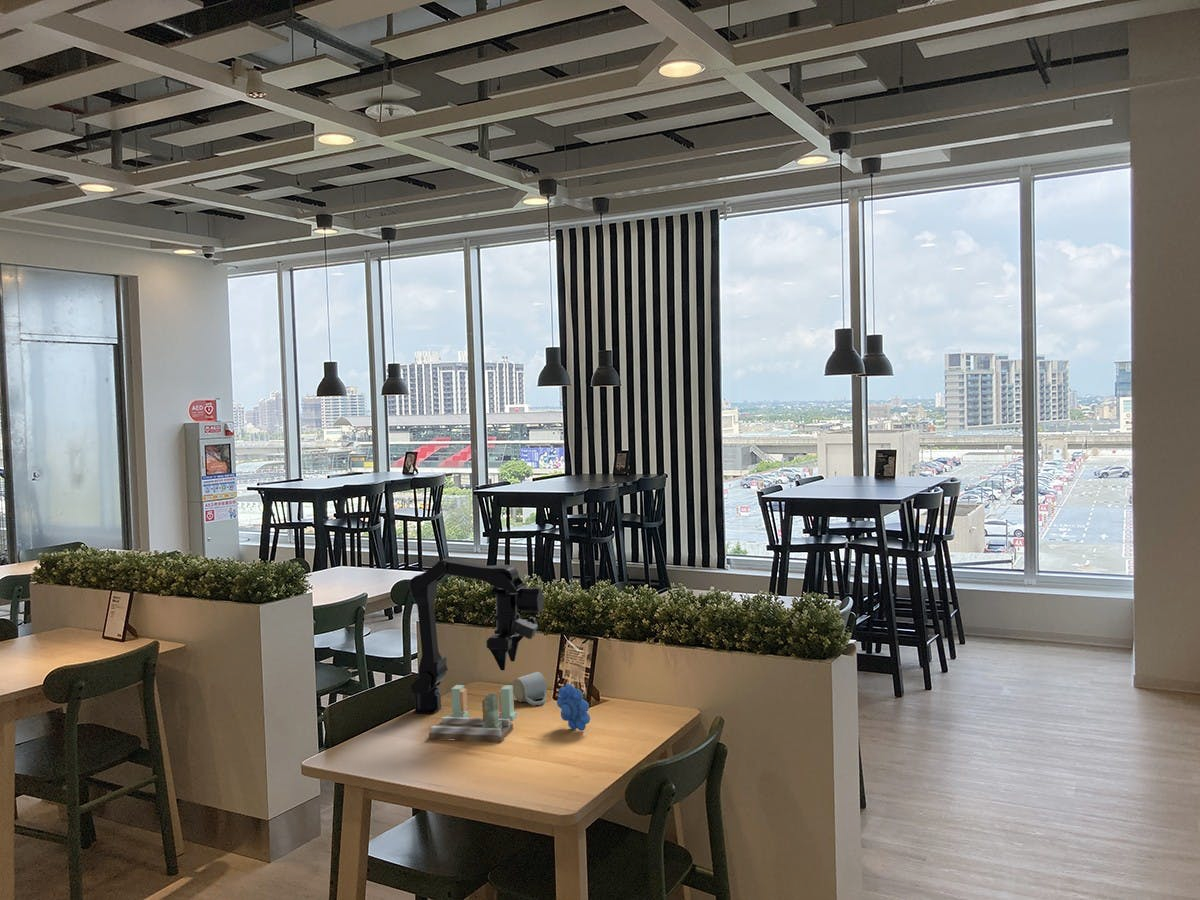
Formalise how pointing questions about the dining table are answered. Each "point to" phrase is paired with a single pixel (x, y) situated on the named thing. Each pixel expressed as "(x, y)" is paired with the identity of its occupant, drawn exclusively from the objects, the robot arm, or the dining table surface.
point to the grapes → (573, 707)
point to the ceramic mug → (530, 688)
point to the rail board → (475, 725)
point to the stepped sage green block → (459, 701)
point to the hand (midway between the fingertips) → (507, 665)
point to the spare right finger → (506, 703)
